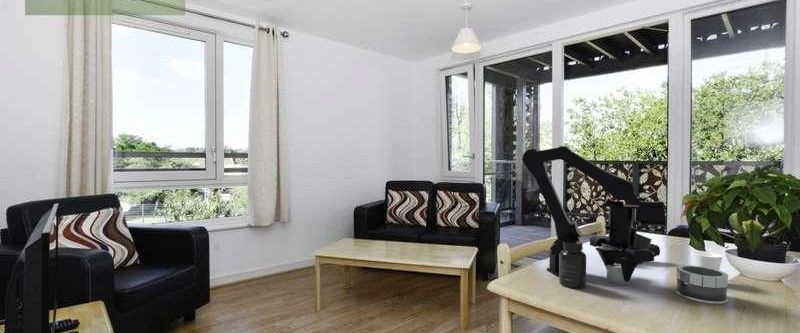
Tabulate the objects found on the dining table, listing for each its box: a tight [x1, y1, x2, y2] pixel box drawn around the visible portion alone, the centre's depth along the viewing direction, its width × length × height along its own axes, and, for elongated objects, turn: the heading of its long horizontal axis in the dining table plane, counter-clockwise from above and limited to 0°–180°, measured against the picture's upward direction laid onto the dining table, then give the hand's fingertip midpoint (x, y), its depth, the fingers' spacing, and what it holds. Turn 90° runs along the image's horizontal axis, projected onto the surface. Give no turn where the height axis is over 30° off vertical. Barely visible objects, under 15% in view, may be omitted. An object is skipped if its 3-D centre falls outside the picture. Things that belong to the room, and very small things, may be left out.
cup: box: [691, 250, 723, 271], centre depth 109 cm, size 7×10×8 cm
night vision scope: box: [614, 243, 661, 264], centre depth 127 cm, size 8×18×10 cm
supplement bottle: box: [558, 240, 587, 290], centre depth 105 cm, size 7×7×12 cm
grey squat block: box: [606, 263, 632, 286], centre depth 108 cm, size 6×6×4 cm
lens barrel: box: [675, 264, 729, 305], centre depth 97 cm, size 10×10×6 cm
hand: (618, 277), depth 108 cm, fingers closed on grey squat block, 6 cm apart
